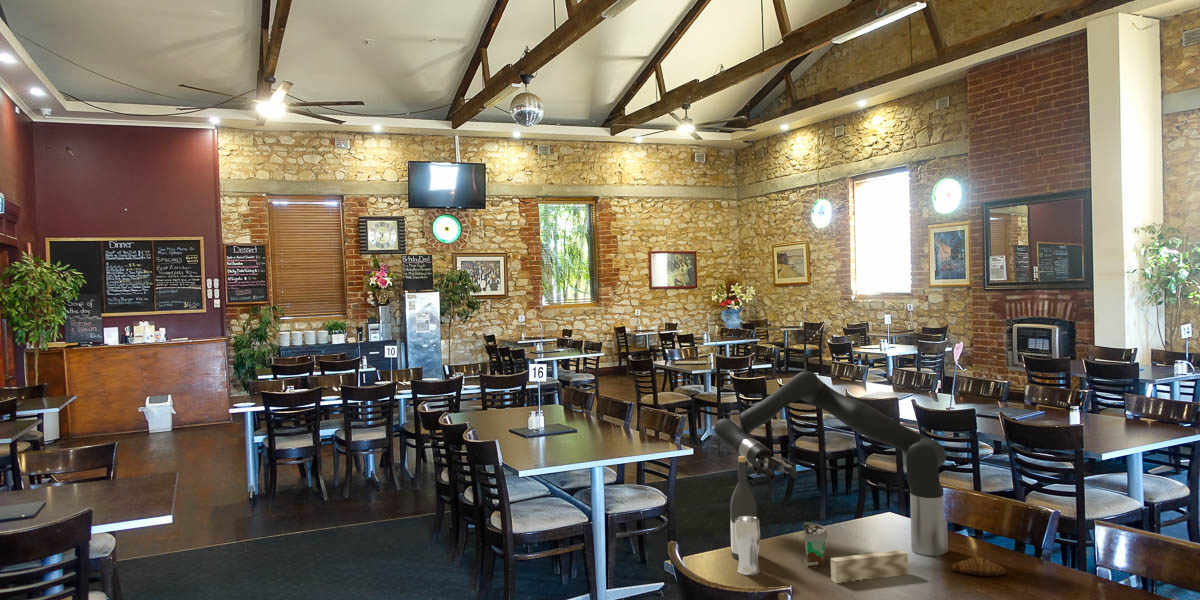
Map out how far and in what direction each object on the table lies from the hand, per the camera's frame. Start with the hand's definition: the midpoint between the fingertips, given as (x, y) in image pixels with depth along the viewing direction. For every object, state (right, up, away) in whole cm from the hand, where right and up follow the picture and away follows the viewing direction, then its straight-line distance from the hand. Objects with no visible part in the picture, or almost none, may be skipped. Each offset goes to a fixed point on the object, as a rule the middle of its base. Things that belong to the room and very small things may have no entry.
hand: (785, 476), depth 225 cm
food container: (+6, -23, -11) cm, 26 cm away
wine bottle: (-14, -23, -4) cm, 27 cm away
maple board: (+17, -22, -23) cm, 36 cm away
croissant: (+48, -22, -22) cm, 57 cm away
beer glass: (-15, -23, -17) cm, 32 cm away
